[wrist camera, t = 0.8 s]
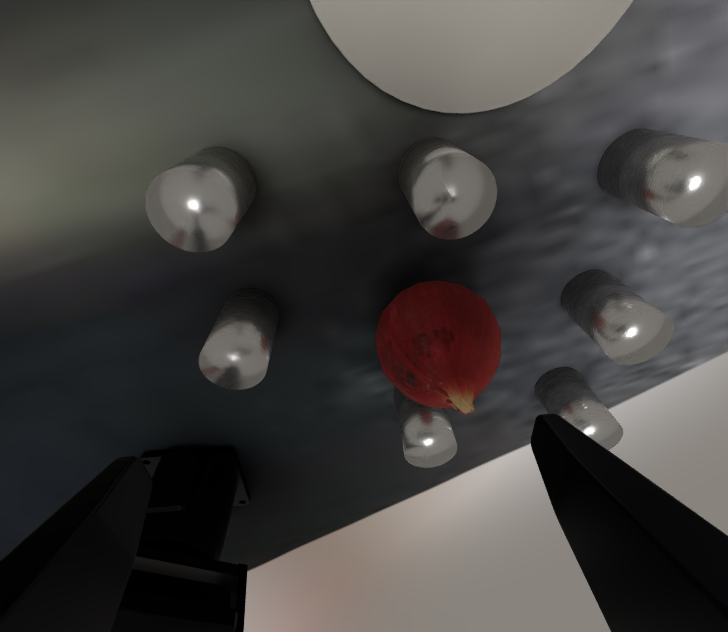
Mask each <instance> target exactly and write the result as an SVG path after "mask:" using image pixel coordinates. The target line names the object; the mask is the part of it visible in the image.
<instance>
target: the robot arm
mask: <svg viewBox="0 0 728 632" xmlns="http://www.w3.org/2000/svg"><path fill="white" fill-rule="evenodd" d="M531 447H532V450H533V453H534V456H535V459H536V461H537V464H538V467H539V470H540V472H541V475H542V478H543V481H544V484H545V487H546V490H547V492H548V495H549V498H550V501H551V504H552V506H553V509H554V511H555V514H556V516H557V519H558V521H559V523H560V525H561V527H562V529H563V532H564V534H565V536H566V538H567V540H568V542H569V544H570V546H571V548H572V550H573V552H574V555H575V557H576V559H577V561H578V563H579V565H580V567H581V569H582V571H583V574H584V576H585V578H586V580H587V582H588V584H589V586H590V588H591V590H592V592H593V595H594V596H595V599H596V601H597V602H598V605H599V607H600V609H601V611H602V613H603V615H604V618H605V620H606V622H607V624H608V626H609V628H610V630H611V632H728V536H727V535H726V534H724V533H723V532H722V531H720V530H719V529H717V528H716V527H715V526H713V525H712V524H710V523H709V522H708V521H706V520H705V519H704V518H702V517H701V516H699V515H698V514H697V513H695V512H694V511H692V510H691V509H690V508H688V507H687V506H685V505H684V504H683V503H681V502H680V501H678V500H677V499H676V498H674V497H673V496H671V495H670V494H669V493H667V492H666V491H664V490H663V489H662V488H660V487H659V486H657V485H656V484H655V483H653V482H652V481H650V480H649V479H647V478H646V477H645V476H643V475H642V474H640V473H639V472H638V471H636V470H635V469H634V468H632V467H631V466H629V465H628V464H627V463H625V462H624V461H622V460H621V459H619V458H618V457H617V456H615V455H614V454H612V453H611V452H610V451H608V450H607V449H606V448H604V447H603V446H601V445H600V444H599V443H597V442H596V441H594V440H593V439H592V438H590V437H589V436H587V435H586V434H584V433H583V432H582V431H580V430H579V429H577V428H576V427H575V426H573V425H572V424H570V423H569V422H568V421H566V420H565V419H563V418H562V417H561V416H559V415H557V414H543V415H538V416H537V417H536V420H535V423H534V428H533V432H532V436H531ZM249 502H250V495H249V492H248V489H247V486H246V483H245V480H244V476H243V473H242V470H241V467H240V464H239V461H238V458H237V455H236V452H235V450H234V449H232V448H229V447H224V448H209V449H195V450H180V451H165V452H151V453H144V454H142V456H141V458H139V457H137V456H130V457H121V458H118V459H116V460H114V461H113V462H112V463H111V464H110V465H108V466H107V467H106V468H105V469H104V470H103V471H102V472H100V473H99V474H98V475H97V476H96V477H95V478H94V479H92V480H91V481H90V482H89V483H88V484H87V485H86V486H85V487H83V488H82V489H81V490H80V491H79V492H78V493H77V494H75V495H74V496H73V497H72V498H71V499H70V500H69V501H67V502H66V503H65V504H64V505H63V506H62V507H61V508H60V509H58V510H57V511H56V512H55V513H54V514H53V515H52V516H50V517H49V518H48V519H47V520H46V521H45V522H44V523H43V524H41V525H40V526H39V527H38V528H37V529H36V530H35V531H33V532H32V533H31V534H30V535H29V536H28V537H27V538H25V539H24V540H23V541H22V542H21V543H20V544H19V545H18V546H16V547H15V548H14V549H13V550H12V551H11V552H10V553H8V554H7V555H6V556H5V557H4V558H3V559H2V560H0V632H243V630H244V614H245V598H246V581H247V565H245V564H240V563H239V564H238V565H237V564H232V563H227V562H222V561H220V557H221V553H222V549H223V544H224V540H225V536H226V532H227V528H228V524H229V520H230V515H231V511H232V507H236V506H246V505H248V504H249Z"/></svg>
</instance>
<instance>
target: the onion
mask: <svg viewBox="0 0 728 632" xmlns="http://www.w3.org/2000/svg"><path fill="white" fill-rule="evenodd" d="M375 346H376V349H377V352H378V356H379V359H380V362H381V366H382V369H383V372H384V374H385V375H386V376H387V378H388V379H389V380H390V381H391V382H392V383H393V384H394V385H395V386H396V387H397V388H398V389H399V390H400V391H401V392H402V393H403V394H405V395H406V396H407V397H408V398H410V399H412V400H413V401H415V402H418V403H421V404H424V405H426V406H429V407H434V408H451V407H453V408H455V409H456V410H457V411H459V412H460V413H462V414H465V415H466V414H469V413H471V412H473V411H474V408H475V407H474V405H473V403H472V402H473V400H474V398H476V397H477V396H478V395H479V394H480V393H481V392H482V391H483V390H484V389H485V388H486V387H487V386H488V384H489V383H490V382H491V380H492V378H493V376H494V374H495V372H496V370H497V368H498V365H499V362H500V359H501V333H500V327H499V325H498V323H497V320H496V318H495V317H494V315H493V313H492V311H491V309H490V308H489V306H488V304H487V302H486V301H485V300H484V299H482V298H481V297H480V296H478V295H477V294H475V293H474V292H472V291H471V290H469V289H467V288H466V287H464V286H463V285H461V284H457V283H451V282H445V281H439V280H435V281H428V282H421V283H417V284H415V285H413V286H411V287H409V288H407V289H405V290H403V291H401V292H400V293H399V294H398V295H397V296H396V297H395V298H394V299H393V300H392V301H391V303H390V304H389V305H388V306H387V307H386V308H385V309H384V310H383V311H382V312H381V316H380V319H379V323H378V327H377V330H376V337H375Z"/></svg>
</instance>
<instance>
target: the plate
mask: <svg viewBox="0 0 728 632" xmlns="http://www.w3.org/2000/svg"><path fill="white" fill-rule="evenodd" d="M309 1H310V3H311V5H312V7H313V9H314V11H315V13H316V15H317V18H318V20H319V21H320V23H321V24H322V26H323V28H324V29H325V31H326V33H327V34H328V36H329V37H330V39H331V41H332V42H333V43H334V45H335V46H336V47H337V48H338V50H339V51H340V52H341V53H342V55H343V56H344V57H345V59H346V60H347V61H348V62H349V63H350V64H351V65H352V66H353V67H354V68H355V69H356V70H357V71H358V72H359V73H360V74H361V75H362V76H363V77H364V78H366V79H367V80H369V81H370V82H371V83H373V84H374V85H375V86H377V87H378V88H379V89H381V90H382V91H384V92H386V93H388V94H390V95H392V96H393V97H395V98H397V99H399V100H401V101H403V102H406V103H409V104H412V105H415V106H417V107H420V108H423V109H428V110H433V111H438V112H443V113H473V112H482V111H488V110H492V109H496V108H500V107H504V106H508V105H510V104H512V103H515V102H517V101H520V100H522V99H525V98H527V97H529V96H531V95H533V94H535V93H537V92H538V91H540V90H542V89H544V88H545V87H547V86H549V85H551V84H552V83H553V82H555V81H556V80H558V79H559V78H560V77H562V76H563V75H565V74H566V73H567V72H569V71H570V70H571V69H572V68H574V67H575V66H576V65H577V64H578V63H579V62H580V61H581V60H583V59H584V58H585V57H586V56H587V55H588V54H589V53H590V52H591V51H592V50H593V49H594V48H595V47H596V46H597V45H598V44H599V43H600V42H601V41H602V40H603V38H604V37H605V36H606V35H607V34H608V33H609V32H610V31H611V30H612V28H613V27H614V26H615V24H616V23H617V22H618V21H619V19H620V18H621V17H622V15H623V14H624V13H625V11H626V10H627V9H628V8H629V6H630V5H631V3H632V2H633V0H309Z"/></svg>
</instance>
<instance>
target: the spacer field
mask: <svg viewBox="0 0 728 632" xmlns="http://www.w3.org/2000/svg"><path fill="white" fill-rule="evenodd" d="M398 180H399V185H400V188H401V190H402V192H403V194H404V195H405V197H406V199H407V201H408V203H409V204H410V206H411V208H412V210H413V212H414V214H415V215H416V217H417V219H418V221H419V223H420V224H421V226H422V227H423V228H424V229H425V230H426V231H427V232H428V233H429V234H431V235H433V236H435V237H437V238H440V239H446V240H454V239H460V238H463V237H466V236H468V235H470V234H472V233H474V232H475V231H477V230H478V229H479V228H481V227H482V226H483V225H484V224H485V222H486V221H487V220H488V218H489V217H490V215H491V214H492V212H493V209H494V207H495V204H496V199H497V185H496V181H495V178H494V176H493V174H492V172H491V171H490V169H489V168H488V167H487V166H486V165H485V164H484V163H482V162H481V161H479V160H478V159H476V158H474V157H473V156H471V155H470V154H468V153H466V152H465V151H463V150H462V149H460V148H458V147H457V146H455V145H453V144H452V143H450V142H449V141H447V140H444V139H442V138H433V137H432V138H426V139H423V140H420V141H418V142H417V143H415V144H414V145H412V146H411V147H410V148H409V149H408V150H407V151H406V153H405V154H404V156H403V158H402V160H401V162H400V165H399V170H398ZM598 181H599V184H600V186H601V188H602V189H603V190H604V191H605V192H606V193H608V194H609V195H612V196H614V197H616V198H618V199H621V200H623V201H625V202H627V203H630V204H632V205H634V206H636V207H639V208H641V209H643V210H645V211H647V212H650V213H652V214H654V215H656V216H659V217H661V218H663V219H665V220H668V221H670V222H672V223H674V224H677V225H679V226H682V227H691V228H692V227H698V226H702V225H705V224H708V223H710V222H713V221H714V220H716V219H718V218H720V217H721V216H723V215H724V214H725V213H726V212H728V144H727V143H722V142H716V141H711V140H705V139H700V138H694V137H688V136H683V135H677V134H672V133H666V132H661V131H655V130H650V129H637V130H633V131H630V132H628V133H626V134H624V135H622V136H621V137H620V138H618V139H617V140H616V141H615V142H614V143H613V144H612V145H611V146H610V147H609V148H608V149H607V151H606V152H605V154H604V156H603V158H602V160H601V162H600V165H599V169H598ZM256 189H257V185H256V179H255V175H254V172H253V170H252V168H251V167H250V165H249V164H248V163H247V161H246V160H245V159H244V158H243V157H242V156H240V155H239V154H238V153H236V152H234V151H232V150H230V149H227V148H224V147H209V148H205V149H203V150H201V151H199V152H198V153H196V154H194V155H192V156H191V157H189V158H187V159H185V160H184V161H182V162H180V163H178V164H177V165H175V166H173V167H171V168H170V169H168V170H166V171H164V172H163V173H161V174H159V175H158V176H157V177H156V178H154V179H153V181H152V182H151V183H150V185H149V187H148V189H147V192H146V198H145V206H146V211H147V215H148V217H149V220H150V222H151V224H152V225H153V227H154V228H155V230H156V231H157V232H158V233H159V234H160V235H161V236H162V237H163V238H164V239H165V240H166V241H168V242H169V243H170V244H172V245H174V246H176V247H178V248H180V249H183V250H185V251H190V252H199V253H202V252H209V251H212V250H215V249H217V248H219V247H221V246H222V245H223V244H224V243H225V242H226V241H227V240H228V239H229V237H230V236H231V234H232V233H233V231H234V229H235V228H236V226H237V225H238V223H239V222H240V220H241V219H242V217H243V216H244V214H245V213H246V211H247V210H248V208H249V207H250V205H251V204H252V202H253V200H254V198H255V195H256ZM561 304H562V307H563V309H564V310H565V311H566V312H567V313H568V315H569V316H570V317H571V318H572V319H573V320H574V321H575V322H576V323H577V324H578V325H579V326H580V327H581V328H582V329H583V330H584V331H585V332H586V333H587V334H588V335H589V336H590V338H591V339H592V340H593V341H594V342H595V343H596V344H597V345H598V346H599V347H600V348H601V349H602V350H603V351H604V352H605V353H606V354H607V355H608V356H609V357H610V358H611V359H612V360H613V361H614V362H616V363H618V364H621V365H634V364H638V363H642V362H644V361H647V360H649V359H651V358H653V357H654V356H656V355H657V354H658V353H660V352H661V351H662V350H663V349H664V348H665V347H666V346H667V345H668V343H669V342H670V340H671V339H672V336H673V333H674V324H673V322H672V320H671V319H670V318H669V317H667V316H666V315H665V314H663V313H662V312H661V311H659V310H658V309H657V308H655V307H654V306H653V305H651V304H650V303H648V302H647V301H646V300H644V299H643V298H642V297H640V296H639V295H638V294H636V293H635V292H634V291H632V290H631V289H630V288H628V287H627V286H625V285H624V284H623V283H621V282H620V281H619V280H617V279H616V278H615V277H613V276H612V275H611V274H609V273H608V272H606V271H603V270H591V271H587V272H584V273H582V274H580V275H578V276H577V277H575V278H574V279H573V280H572V281H571V282H570V283H569V284H568V285H567V286H566V288H565V289H564V291H563V293H562V297H561ZM279 315H280V314H279V308H278V306H277V304H276V302H275V301H274V300H273V299H272V298H271V297H270V296H269V295H267V294H266V293H264V292H262V291H259V290H255V289H242V290H238V291H236V292H234V293H232V294H231V295H230V296H229V297H228V298H227V300H226V302H225V304H224V306H223V308H222V310H221V312H220V314H219V316H218V318H217V320H216V322H215V324H214V326H213V328H212V330H211V333H210V335H209V337H208V339H207V341H206V343H205V345H204V347H203V349H202V351H201V353H200V356H199V366H200V369H201V371H202V373H203V374H204V375H205V377H206V378H207V379H208V380H210V381H211V382H213V383H214V384H216V385H218V386H220V387H223V388H227V389H233V390H241V389H247V388H251V387H253V386H255V385H257V384H258V383H260V382H261V381H262V380H263V378H264V377H265V375H266V372H267V367H268V363H269V359H270V355H271V350H272V346H273V342H274V338H275V334H276V329H277V325H278V321H279ZM535 393H536V395H537V397H538V398H539V400H540V401H541V403H542V405H543V406H544V408H545V409H546V411H547V413H548V414H557V415H559V416H561V417H562V418H563V419H565V420H566V421H568V422H569V423H570V424H572V425H573V426H575V427H576V428H577V429H579V430H580V431H582V432H583V433H584V434H586V435H587V436H589V437H590V438H592V439H593V440H594V441H596V442H597V443H599V444H600V445H601V446H603V447H604V448H606V449H607V450H609V449H611V448H612V447H614V446H615V445H616V444H617V443H618V442H619V441H620V439H621V438H622V436H623V429H622V427H621V425H620V424H619V423H618V422H617V421H616V419H615V418H614V417H613V416H612V414H611V413H610V412H609V411H608V409H607V408H606V407H605V406H604V404H603V403H602V402H601V401H600V399H599V398H598V397H597V396H596V394H595V393H594V392H593V391H592V389H591V388H590V387H589V386H588V384H587V383H586V382H585V381H584V379H583V378H582V377H581V376H580V374H579V373H578V372H577V371H576V370H574V369H571V368H558V369H554V370H552V371H550V372H548V373H546V374H545V375H543V376H542V377H541V378H540V379H539V381H538V382H537V384H536V387H535ZM394 399H395V404H396V410H397V416H398V421H399V427H400V433H401V438H402V444H403V450H404V455H405V458H406V460H407V461H408V462H409V463H410V464H412V465H414V466H417V467H423V468H430V467H436V466H439V465H442V464H444V463H446V462H448V461H449V460H451V459H452V458H453V457H454V455H455V454H456V452H457V443H456V440H455V437H454V434H453V430H452V427H451V424H450V421H449V418H448V415H447V412H446V409H445V408H434V407H429V406H426V405H424V404H421V403H418V402H415V401H413V400H412V399H410V398H408V397H407V396H406V395H405V394H403V393H402V392H401V391H400V390H399V389H398V388H396V390H395V393H394Z"/></svg>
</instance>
